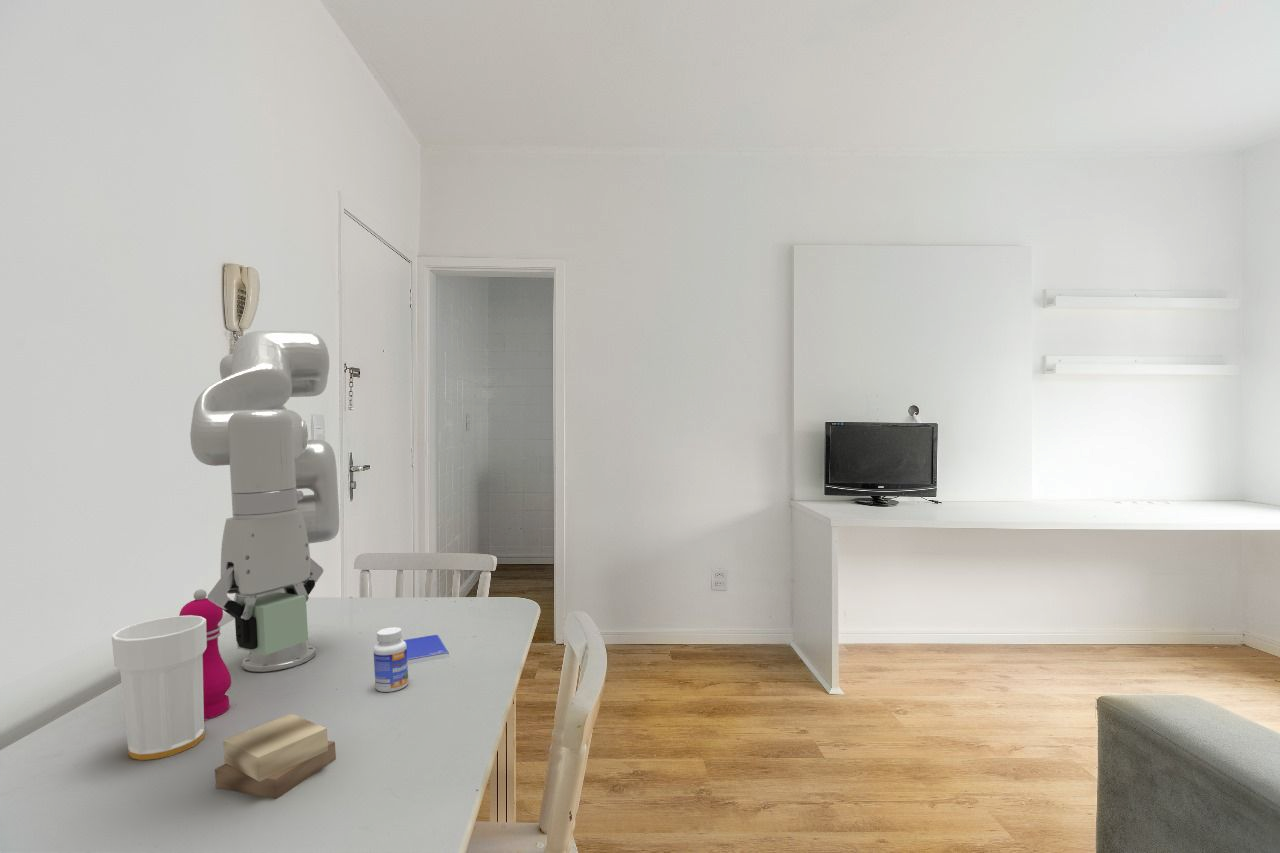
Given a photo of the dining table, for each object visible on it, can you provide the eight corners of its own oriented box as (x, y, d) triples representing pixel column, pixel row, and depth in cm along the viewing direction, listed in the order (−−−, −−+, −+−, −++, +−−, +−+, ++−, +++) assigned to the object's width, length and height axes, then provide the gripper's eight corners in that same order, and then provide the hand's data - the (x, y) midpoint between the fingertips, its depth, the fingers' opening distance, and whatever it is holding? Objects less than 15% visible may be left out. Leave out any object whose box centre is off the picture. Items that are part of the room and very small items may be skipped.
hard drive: (449, 651, 134) (438, 633, 146) (404, 659, 131) (396, 640, 142) (449, 659, 134) (438, 641, 146) (405, 667, 131) (397, 648, 142)
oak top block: (224, 762, 91) (223, 739, 91) (292, 734, 99) (291, 713, 99) (259, 781, 86) (258, 757, 86) (328, 750, 94) (326, 728, 93)
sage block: (237, 648, 91) (234, 603, 91) (280, 635, 97) (277, 591, 97) (265, 655, 89) (263, 608, 88) (308, 640, 94) (305, 595, 94)
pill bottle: (397, 693, 118) (395, 636, 117) (368, 692, 119) (366, 635, 118) (414, 680, 123) (411, 626, 123) (386, 679, 124) (384, 625, 124)
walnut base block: (216, 792, 90) (214, 769, 90) (279, 754, 99) (277, 733, 99) (277, 803, 87) (275, 779, 86) (336, 763, 96) (334, 741, 96)
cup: (141, 772, 94) (133, 644, 94) (104, 752, 100) (97, 632, 100) (227, 736, 104) (221, 620, 103) (189, 720, 110) (183, 611, 109)
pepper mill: (243, 705, 115) (236, 584, 115) (203, 724, 108) (195, 596, 108) (210, 700, 118) (203, 582, 117) (169, 719, 111) (161, 594, 110)
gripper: (305, 495, 101) (312, 618, 102) (179, 512, 86) (188, 657, 87) (340, 496, 98) (346, 624, 98) (215, 515, 83) (224, 666, 83)
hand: (272, 638), depth 93 cm, fingers closed on sage block, 6 cm apart
